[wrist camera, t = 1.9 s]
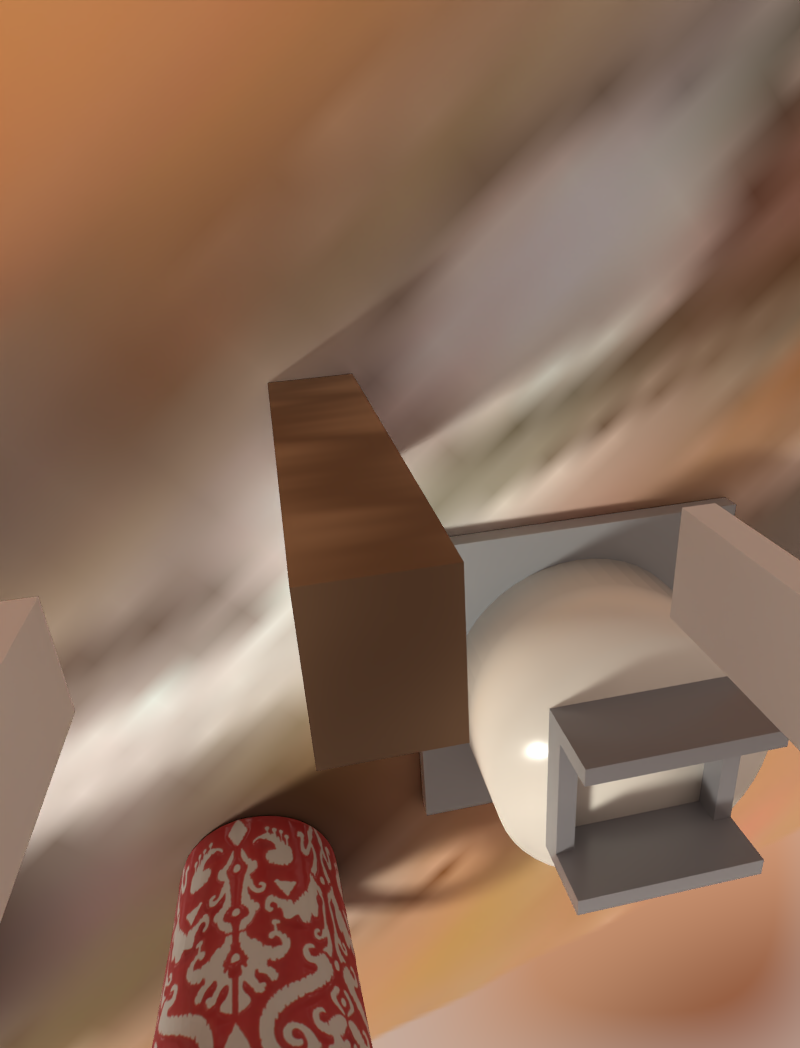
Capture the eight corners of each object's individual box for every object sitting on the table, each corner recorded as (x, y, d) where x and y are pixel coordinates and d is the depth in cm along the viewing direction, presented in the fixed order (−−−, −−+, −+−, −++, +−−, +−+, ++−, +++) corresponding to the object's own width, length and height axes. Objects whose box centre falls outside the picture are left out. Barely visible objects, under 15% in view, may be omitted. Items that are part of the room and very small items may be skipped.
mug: (132, 829, 32) (62, 1206, 20) (330, 774, 33) (377, 1105, 21) (213, 999, 38) (196, 1376, 26) (381, 948, 39) (441, 1289, 27)
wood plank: (282, 488, 27) (316, 771, 14) (267, 382, 26) (289, 587, 12) (361, 478, 28) (469, 742, 14) (351, 373, 26) (464, 561, 12)
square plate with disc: (423, 802, 35) (482, 1005, 26) (405, 543, 29) (473, 691, 20) (691, 750, 37) (829, 921, 28) (724, 497, 31) (912, 614, 22)
